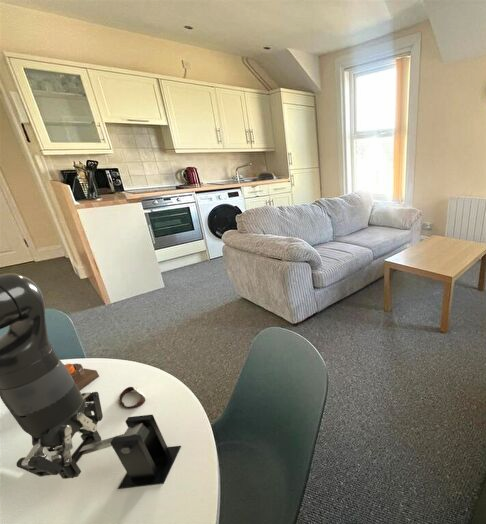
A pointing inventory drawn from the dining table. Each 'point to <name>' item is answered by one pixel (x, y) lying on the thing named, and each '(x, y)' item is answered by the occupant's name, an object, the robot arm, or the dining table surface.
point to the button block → (83, 376)
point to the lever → (107, 441)
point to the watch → (130, 391)
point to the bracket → (144, 454)
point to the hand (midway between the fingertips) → (85, 460)
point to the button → (70, 368)
